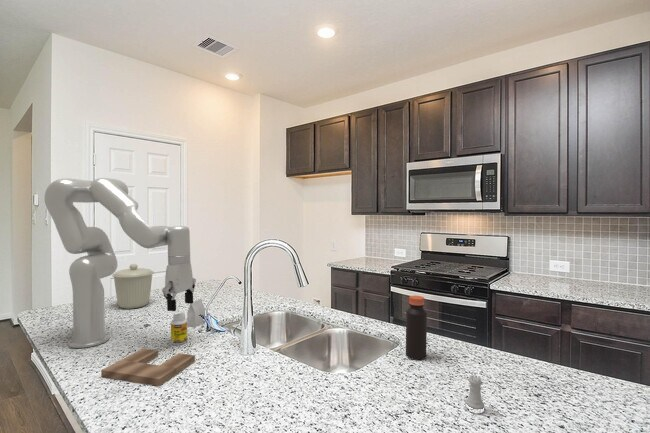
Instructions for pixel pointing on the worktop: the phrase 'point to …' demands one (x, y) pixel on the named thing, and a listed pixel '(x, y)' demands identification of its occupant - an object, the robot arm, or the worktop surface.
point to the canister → (133, 286)
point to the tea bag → (195, 314)
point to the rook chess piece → (475, 393)
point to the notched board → (147, 368)
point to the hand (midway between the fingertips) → (180, 306)
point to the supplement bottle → (178, 329)
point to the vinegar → (416, 328)
